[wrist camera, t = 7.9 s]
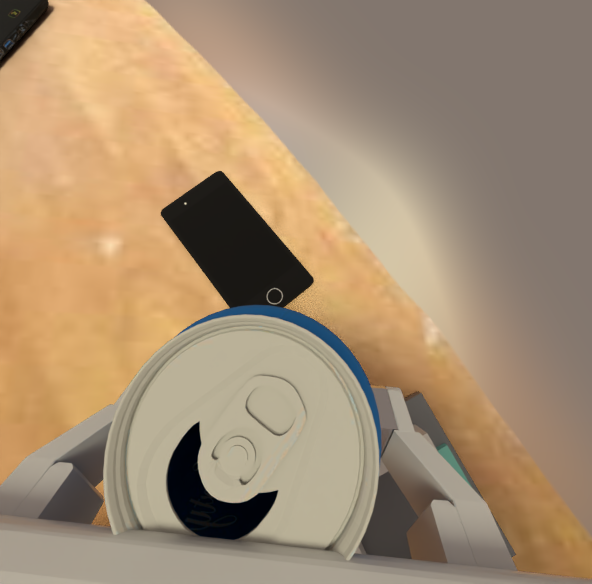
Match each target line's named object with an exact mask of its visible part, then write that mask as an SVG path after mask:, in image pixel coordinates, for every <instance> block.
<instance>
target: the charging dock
mask: <svg viewBox="0 0 592 584" xmlns="http://www.w3.org/2000/svg"><path fill="white" fill-rule="evenodd" d="M404 400H405V403H406V406H407V409H408V412H409V415H410V418H411V421H412V424H413V427H414V430H415V432H420V433H421V434H422V436H423V437H424V438H425V439H426V440H427V441H428V442H429V443H430V444H431V445H432V446H433V447H434V448H435V449H436V450H437V451H438V452H439V454H440V455H441V456H442V457H443V458H444V459H445V460H446V461H447V462H448V463H449V464H450V465H451V466H452V467H453V468H454V469H455V470H456V472H457V473H458V474H459V475H460V476H461V477H462V478H463V479H464V480H465V481H466V482H467V483H468V484H469V485H470V486H471V487H472V488H473V490H474V491H475V492H476V493H477V494H478V495H479V496H480V497H481V498H482V499H483V497H482V496H481V494H480V492H479V491H478V489H477V487H476V486H475V484H474V482H473V480H472V479H471V477H470V475H469V474H468V472H467V470H466V468H465V467H464V465H463V463H462V462H461V460H460V458H459V457H458V455H457V453H456V451H455V450H454V448H453V446H452V445H451V443H450V441H449V439H448V438H447V436H446V434H445V433H444V431H443V429H442V428H441V426H440V424H439V422H438V421H437V419H436V417H435V416H434V414H433V412H432V410H431V409H430V407H429V405H428V404H427V402H426V400H425V399H424V397H423V395H422V393H420V392H416V393H414V394H412V395H410V396H408V397H407V398H405V399H404ZM483 500H484V499H483ZM490 512H491V511H490ZM491 514H492V513H491ZM492 516H493V515H492ZM493 518H494V516H493ZM417 519H418V516H417V514H416V513H415V511H414V509H413V508H412V506H411V505H410V503H409V502H408V500H407V499H406V497H405V496H404V494H403V493H402V491H401V490H400V488H399V486H398V485H397V483H396V482H395V480H394V479H393V477H392V476H391V474H390V473H389V471H388V470H387V468H386V466H385V465H384V463H383V462H382V460H380V469H379V479H378V489H377V495H376V499H375V504H374V508H373V512H372V515H371V518H370V521H369V524H368V526H367V529H366V532H365V534H364V536H363V538H362V540H361V542H360V544H359V546H358V548H357V550H356V552H355V553H359V554H368V555H377V556H386V557H395V558H405V559H412V557H411V553H410V548H409V544H408V539H407V534H406V533H407V531H408V530H409V528H410V527H411V526H412V525H413V523H414V522H415V521H416V520H417ZM494 520H495V518H494ZM495 523H496V525H497V527H498V529H499V531H500V534H501V536H502V538H503V540H504V542H505V544H506V547H507V549H508V551H509V553H510V555H511V557H513V556H515V555H516V554H515V552H514V550H513V549H512V547H511V545H510V544H509V542H508V540H507V538H506V537H505V535H504V533H503V532H502V530H501V528H500V527H499V525H498V523H497V521H496V520H495Z"/></svg>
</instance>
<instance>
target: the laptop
mask: <svg viewBox="0 0 592 584" xmlns="http://www.w3.org/2000/svg"><path fill="white" fill-rule="evenodd" d="M48 4H49V3H48V0H0V60H1V59H2V58H3V57H4V56H5V55H6V54H7V53H8V52H9V51H10V50H11V48H12V47H13V46H14V45H15V44H16V43H17V42H18V41H19V40H20V39H21V38H22V36H23V35H24V34H25V33H26V32H27V31H28V30H29V29H30V28H31V27H32V26H33V24H34V23H35V22H36V21H37V20H38V19H39V17H40V16H41V15H42V14H43V13H44V12H45V11H46V10H47V8H48Z"/></svg>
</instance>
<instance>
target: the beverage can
mask: <svg viewBox="0 0 592 584" xmlns="http://www.w3.org/2000/svg"><path fill="white" fill-rule="evenodd" d="M381 450H382V447H381V426H380V419H379V412H378V408H377V404H376V400H375V397H374V393H373V391H372V388H371V386H370V383H369V381H368V378H367V376H366V374H365V373H364V371H363V369H362V367H361V365H360V363H359V362H358V361H357V359H356V358H355V356H354V355H353V354H352V352H351V351H350V349H349V348H348V347H347V346H346V345H345V344H344V343H343V342H342V341H341V340H340V339H339V338H338V337H337V336H336V335H335V334H334V333H332V332H331V331H330V330H329V329H328V328H326V327H325V326H323V325H322V324H320V323H318V322H317V321H315V320H314V319H312V318H310V317H308V316H305V315H303V314H301V313H299V312H296V311H292V310H289V309H286V308H281V307H276V306H270V305H247V306H238V307H234V308H229V309H225V310H222V311H219V312H216V313H213V314H211V315H208V316H206V317H204V318H202V319H200V320H198V321H196V322H195V323H193V324H192V325H190V326H189V327H187V328H186V329H184V330H183V331H182V332H180V333H179V334H178V335H177V336H176V337H174V338H173V339H172V340H170V341H169V342H167V343H166V344H165V345H164V346H163V347H161V348H160V349H159V350H158V351H157V352H156V353H154V354H153V356H152V357H151V358H150V359H149V360H148V361H147V362H146V363H145V364H144V365H143V366H142V368H141V369H140V370H139V372H138V373H137V374H136V376H135V377H134V378H133V380H132V381H131V383H130V385H129V386H128V388H127V390H126V391H125V393H124V395H123V397H122V399H121V401H120V403H119V406H118V408H117V410H116V412H115V415H114V418H113V421H112V424H111V427H110V431H109V434H108V439H107V444H106V449H105V456H104V469H103V481H104V497H105V503H106V509H107V515H108V518H109V522H110V525H111V529H112V532H113V534H114V535H117V534H120V533H122V532H125V531H127V530H135V529H138V530H146V531H157V532H166V533H175V534H184V535H194V536H203V537H212V538H221V539H230V540H239V541H249V542H258V543H267V544H275V545H283V546H293V547H302V548H311V549H320V550H331V551H335V552H338V553H339V554H341V555H343V556H344V558H345V560H348V561H349V560H350V559H351V558H352V556H353V555H354V553H355V552H356V550H357V548H358V546H359V544H360V542H361V540H362V538H363V536H364V534H365V532H366V529H367V526H368V524H369V521H370V518H371V515H372V512H373V508H374V504H375V499H376V495H377V489H378V479H379V469H380V460H381Z"/></svg>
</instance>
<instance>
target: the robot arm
mask: <svg viewBox="0 0 592 584" xmlns="http://www.w3.org/2000/svg"><path fill="white" fill-rule="evenodd" d="M129 385H130V384H129ZM129 385H128V386H129ZM370 386H371V388H372V391H373V393H374V397H375V400H376V404H377V408H378V412H379V419H380V426H381V447H382V450H381V460H382V462H383V463H384V465H385V466H386V468H387V470H388V471H389V473H390V474H391V476H392V477H393V479H394V480H395V482H396V483H397V485H398V486H399V488H400V490H401V491H402V493H403V494H404V496H405V497H406V499H407V500H408V502H409V503H410V505H411V506H412V508H413V509H414V511H415V513H416V514H417V516H418V519H417V520H416V521H415V522H414V523H413V525H412V526H411V527H410V528H409V530H408V531H407V533H406V534H407V539H408V544H409V548H410V553H411V557H412V559H405V558H395V557H386V556H377V555H368V554H359V553H354V555H353V556H352V558H351V559H350V560H349V561H348V560H345V558H344V556H343V555H341V554H339V553H338V552H335V551H331V550H320V549H311V548H302V547H293V546H283V545H275V544H267V543H258V542H249V541H239V540H230V539H221V538H212V537H203V536H194V535H184V534H175V533H166V532H157V531H146V530H138V529H135V530H127V531H125V532H122V533H120V534H117V535H114V534H113V532H112V529H111V526H102V525H93V524H91V523H92V522H93V520H94V518H95V516H96V514H97V513H98V511H99V509H100V507H101V506H102V504H103V502H104V499H103V496H102V495H101V494H100V493H99V492H98V491H97V490H96V488H95V486H97V485H98V484H99V483H100V482H101V481H102V480H103V469H104V456H105V449H106V444H107V439H108V434H109V431H110V427H111V424H112V421H113V418H114V415H115V412H116V410H117V408H118V406H119V403H120V401H121V399H122V397H123V395H124V393H125V391H126V390H127V388H128V387H127V388H126V389H125V391H124V392H123V393H122V395H121V396H120V397H119V399H118V400H117V401H116V403H115V404H114V405H112V404H110V405H108V406H107V407H105V408H103V409H102V410H100V411H99V412H97V413H96V414H94V415H92V416H91V417H89V418H88V419H86V420H84V421H83V422H81V423H80V424H78V425H76V426H75V427H73V428H72V429H70V430H68V431H67V432H65V433H64V434H62V435H61V436H59V437H57V438H56V439H54V440H53V441H51V442H49V443H48V444H46V445H45V446H43V447H41V448H40V449H38V450H37V451H35V452H33V453H32V454H30V455H29V456H27V457H26V458H25V459H24V460H23V461H22V462H21V463H20V465H19V466H18V467H17V468H16V469H15V470H14V471H13V472H12V473H11V475H10V476H9V477H8V478H7V479H6V480H5V481H4V482H3V483H2V485H1V486H0V584H592V579H588V578H579V577H570V576H561V575H552V574H542V573H533V572H524V571H517V568H516V566H515V564H514V562H513V560H512V558H511V555H510V553H509V551H508V549H507V547H506V544H505V542H504V540H503V538H502V536H501V534H500V531H499V529H498V527H497V525H496V523H495V520H494V518H493V516H492V514H491V512H490V509H489V507H488V505H487V503H486V502H485V501H484V500H483V499H482V498H481V497H480V496H479V495H478V494H477V493H476V492H475V491H474V490H473V488H472V487H471V486H470V485H469V484H468V483H467V482H466V481H465V480H464V479H463V478H462V477H461V476H460V475H459V474H458V473H457V472H456V470H455V469H454V468H453V467H452V466H451V465H450V464H449V463H448V462H447V461H446V460H445V459H444V458H443V457H442V456H441V455H440V454H439V452H438V451H437V450H436V449H435V448H434V447H433V446H432V445H431V444H430V443H429V442H428V441H427V440H426V439H425V438H424V437H423V436H422V434H421V433H420V432H415V430H414V427H413V424H412V421H411V418H410V415H409V412H408V409H407V406H406V403H405V400H404V397H403V394H402V391H401V389H400V388H398V387H384V386H376V385H370Z"/></svg>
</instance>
